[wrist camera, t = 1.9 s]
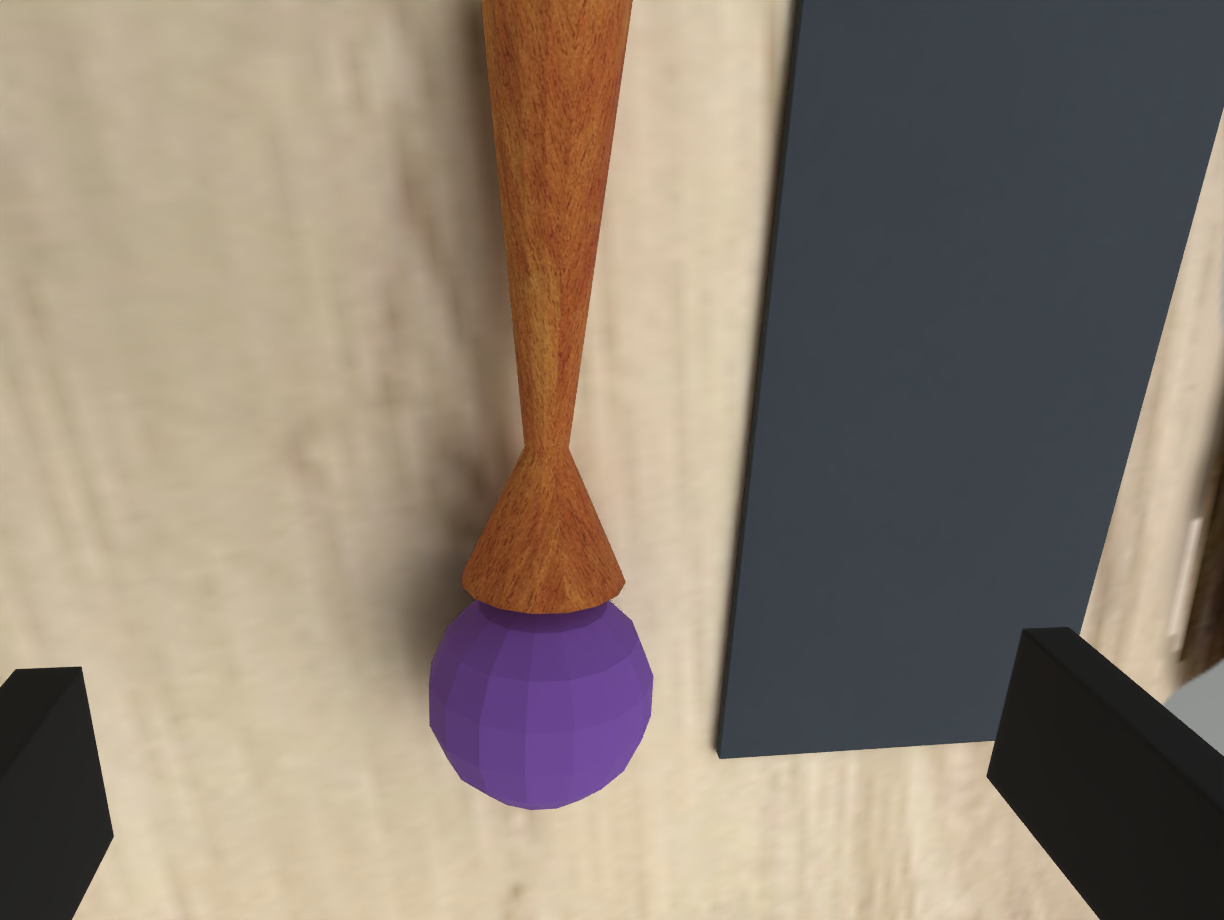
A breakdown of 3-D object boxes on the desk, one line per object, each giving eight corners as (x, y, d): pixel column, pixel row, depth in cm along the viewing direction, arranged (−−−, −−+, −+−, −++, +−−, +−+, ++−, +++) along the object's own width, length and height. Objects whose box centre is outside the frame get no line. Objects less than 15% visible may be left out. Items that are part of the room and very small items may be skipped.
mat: (806, -85, 20) (812, -89, 20) (1253, -44, 22) (1266, -47, 22) (716, 751, 29) (719, 759, 29) (1045, 730, 31) (1051, 737, 30)
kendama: (745, -27, 17) (680, 833, 23) (635, 25, 22) (605, 710, 28) (438, -72, 15) (450, 883, 21) (398, -2, 20) (416, 740, 26)
